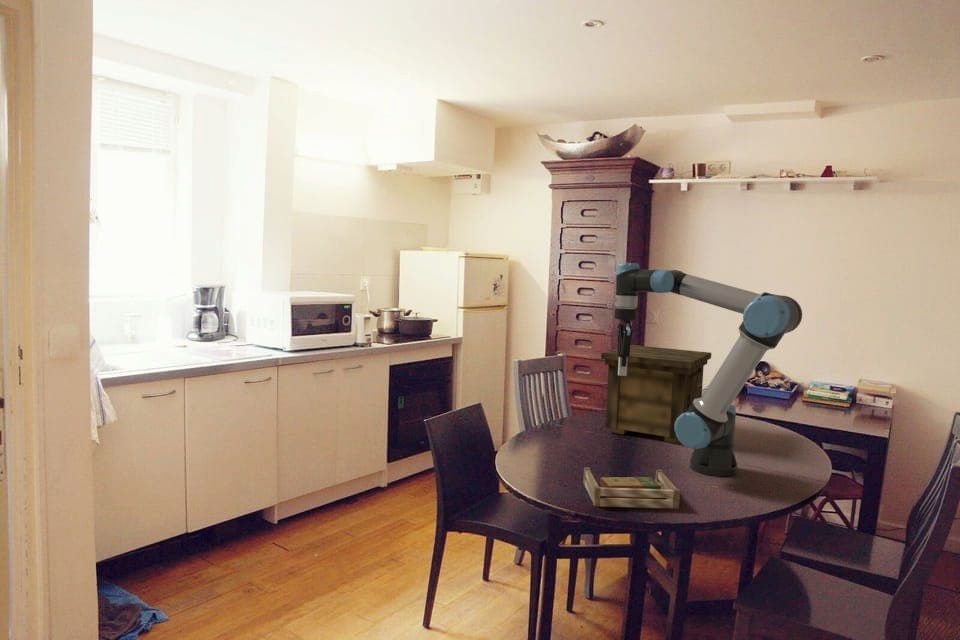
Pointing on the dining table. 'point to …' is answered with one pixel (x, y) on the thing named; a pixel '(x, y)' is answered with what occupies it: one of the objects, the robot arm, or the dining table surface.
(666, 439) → the crate
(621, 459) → the dining table surface
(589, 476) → the slatted wooden tray
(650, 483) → the carton
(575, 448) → the dining table surface
